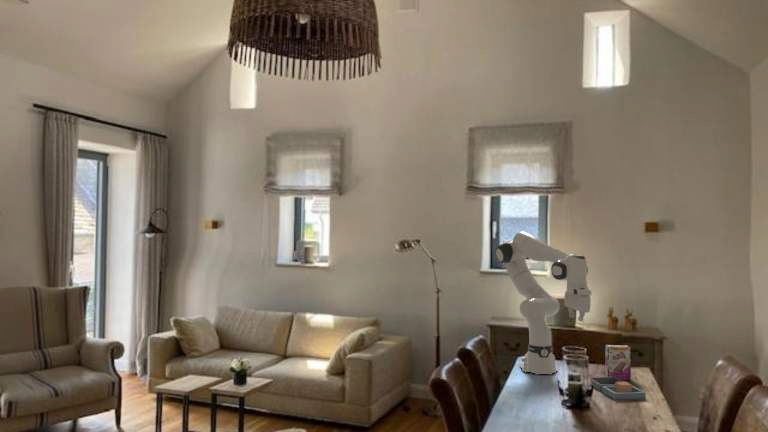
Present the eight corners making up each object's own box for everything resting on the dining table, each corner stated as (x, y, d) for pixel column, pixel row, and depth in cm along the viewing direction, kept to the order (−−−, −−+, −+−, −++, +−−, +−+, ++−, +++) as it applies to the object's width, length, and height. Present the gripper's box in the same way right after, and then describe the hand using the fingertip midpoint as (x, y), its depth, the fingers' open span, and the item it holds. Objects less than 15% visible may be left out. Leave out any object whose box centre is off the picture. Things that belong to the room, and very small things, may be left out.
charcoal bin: (587, 383, 279) (586, 377, 279) (614, 382, 280) (614, 376, 280) (600, 391, 265) (600, 385, 265) (629, 390, 266) (629, 384, 266)
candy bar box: (607, 380, 285) (607, 346, 286) (605, 377, 290) (604, 344, 291) (631, 380, 284) (631, 347, 285) (628, 378, 289) (627, 345, 290)
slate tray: (602, 392, 264) (601, 386, 264) (631, 391, 265) (631, 385, 265) (614, 400, 252) (614, 393, 252) (645, 399, 253) (645, 392, 253)
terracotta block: (615, 393, 260) (615, 382, 261) (625, 392, 261) (625, 381, 261) (620, 396, 256) (620, 385, 256) (631, 396, 256) (631, 384, 256)
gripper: (561, 286, 278) (560, 315, 278) (579, 292, 258) (579, 323, 258) (573, 286, 279) (573, 315, 279) (593, 292, 258) (592, 323, 259)
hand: (576, 319), depth 268 cm, fingers open, 8 cm apart
